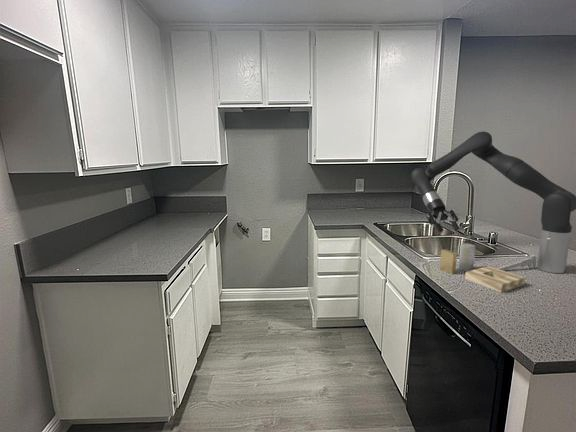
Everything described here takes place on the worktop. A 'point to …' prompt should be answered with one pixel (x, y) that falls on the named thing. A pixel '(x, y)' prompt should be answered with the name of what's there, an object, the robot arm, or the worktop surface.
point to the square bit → (466, 257)
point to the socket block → (495, 278)
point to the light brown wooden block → (448, 261)
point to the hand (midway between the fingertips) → (449, 230)
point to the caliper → (521, 263)
